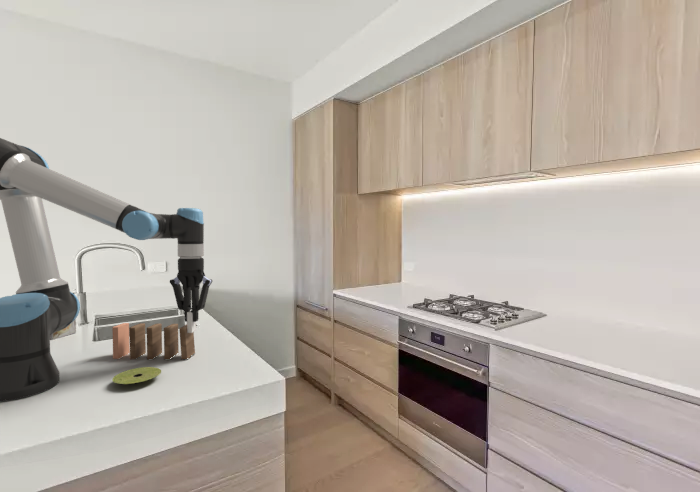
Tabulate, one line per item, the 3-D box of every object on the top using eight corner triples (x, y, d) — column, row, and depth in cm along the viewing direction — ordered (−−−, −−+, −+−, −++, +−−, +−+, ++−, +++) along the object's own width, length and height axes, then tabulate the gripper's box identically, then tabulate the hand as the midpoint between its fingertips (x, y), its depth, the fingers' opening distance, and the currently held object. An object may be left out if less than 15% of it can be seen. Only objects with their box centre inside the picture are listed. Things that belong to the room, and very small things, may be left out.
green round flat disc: (111, 394, 88) (111, 387, 88) (112, 378, 97) (112, 371, 97) (163, 384, 94) (163, 377, 94) (159, 370, 103) (159, 363, 103)
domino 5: (195, 354, 117) (192, 323, 117) (187, 359, 112) (184, 327, 111) (189, 354, 117) (187, 323, 117) (181, 360, 112) (179, 328, 112)
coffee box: (63, 332, 143) (62, 291, 142) (76, 333, 142) (75, 292, 141) (39, 338, 134) (37, 295, 133) (53, 339, 133) (51, 296, 132)
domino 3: (162, 353, 117) (161, 323, 117) (152, 359, 112) (152, 327, 112) (156, 353, 118) (156, 323, 117) (147, 359, 112) (146, 327, 112)
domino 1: (129, 353, 118) (128, 323, 118) (118, 358, 113) (117, 327, 112) (124, 353, 118) (123, 323, 118) (113, 358, 113) (112, 327, 113)
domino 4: (178, 354, 117) (178, 323, 117) (169, 359, 112) (169, 328, 112) (173, 354, 117) (172, 323, 117) (164, 359, 112) (163, 327, 112)
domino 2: (145, 353, 118) (145, 323, 117) (135, 359, 113) (134, 327, 112) (140, 353, 118) (139, 323, 117) (130, 359, 113) (129, 327, 112)
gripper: (216, 256, 117) (216, 328, 117) (176, 256, 117) (177, 328, 118) (205, 258, 109) (206, 335, 110) (164, 258, 110) (165, 334, 111)
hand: (191, 331), depth 114 cm, fingers closed
